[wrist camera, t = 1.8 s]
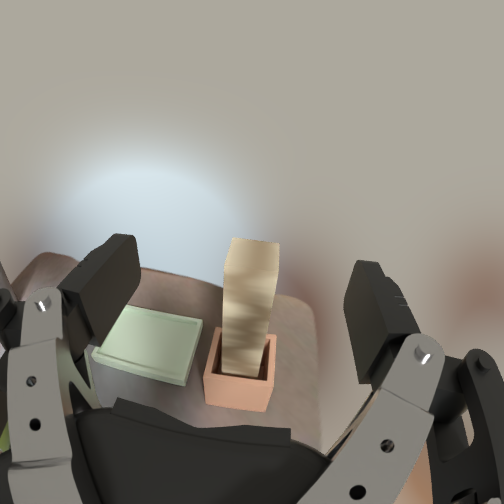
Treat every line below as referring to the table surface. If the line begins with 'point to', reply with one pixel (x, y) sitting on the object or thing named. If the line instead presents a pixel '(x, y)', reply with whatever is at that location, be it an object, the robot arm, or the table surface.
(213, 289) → the table surface
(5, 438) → the pear
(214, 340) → the salmon pink open box
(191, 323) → the tray
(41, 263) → the table surface
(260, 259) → the post
